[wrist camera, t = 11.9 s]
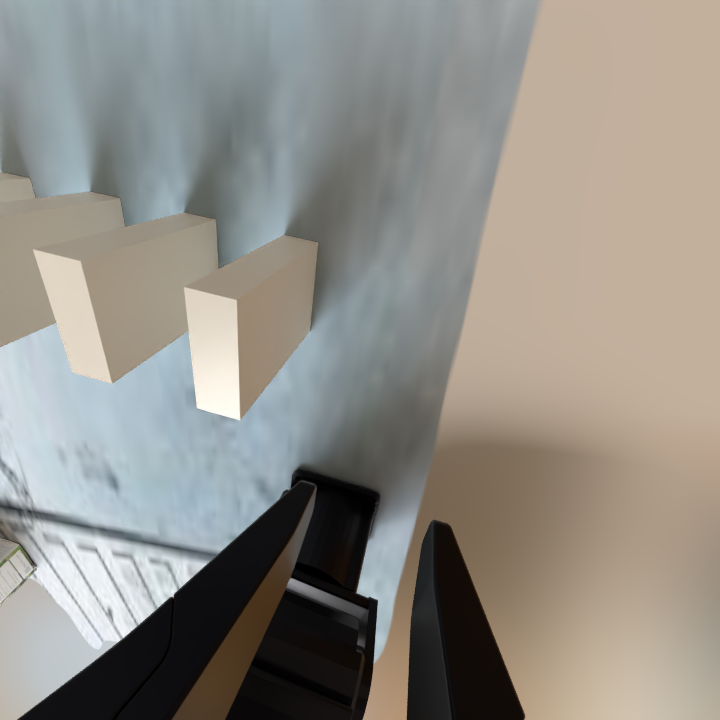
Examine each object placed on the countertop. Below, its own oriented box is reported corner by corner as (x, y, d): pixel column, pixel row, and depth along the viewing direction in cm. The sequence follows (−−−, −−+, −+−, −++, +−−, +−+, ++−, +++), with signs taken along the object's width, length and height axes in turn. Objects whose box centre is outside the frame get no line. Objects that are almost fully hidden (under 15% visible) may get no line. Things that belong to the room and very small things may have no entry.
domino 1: (120, 198, 19) (-62, 226, 12) (136, 287, 22) (-7, 350, 15) (89, 191, 19) (-105, 215, 13) (109, 280, 22) (-43, 339, 15)
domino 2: (216, 219, 19) (80, 260, 12) (220, 308, 21) (112, 383, 15) (183, 212, 19) (33, 249, 12) (192, 301, 21) (72, 372, 15)
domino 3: (318, 242, 18) (236, 300, 11) (310, 330, 21) (240, 420, 14) (284, 234, 18) (183, 287, 12) (280, 323, 21) (197, 408, 14)
